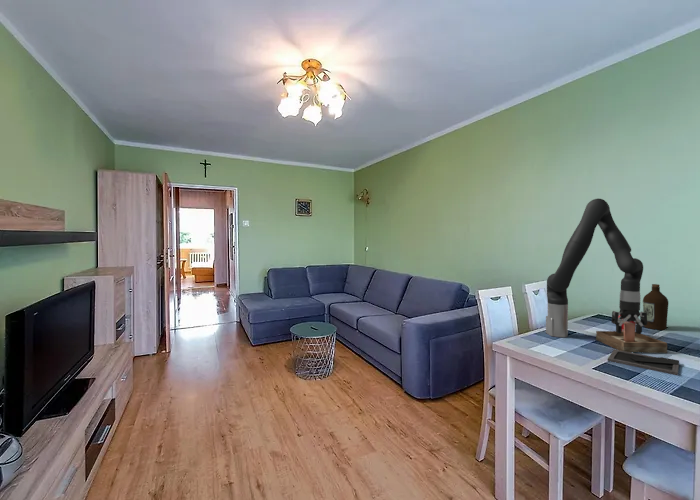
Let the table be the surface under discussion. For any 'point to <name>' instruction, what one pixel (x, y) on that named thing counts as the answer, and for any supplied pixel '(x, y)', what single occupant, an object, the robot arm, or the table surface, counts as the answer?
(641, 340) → the wooden tray
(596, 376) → the table surface
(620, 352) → the picture frame
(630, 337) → the dowel peg
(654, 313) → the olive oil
